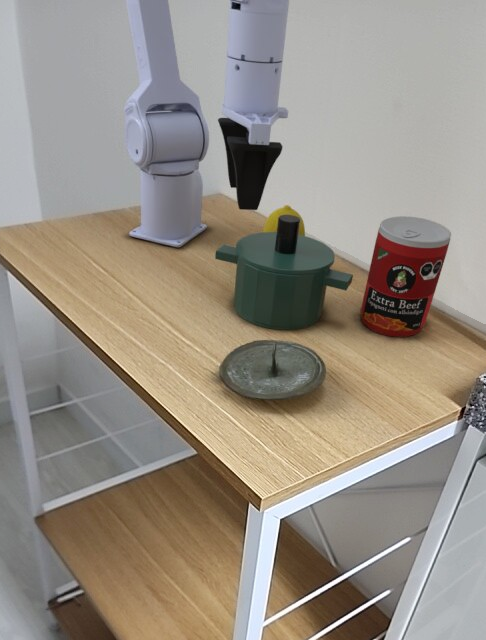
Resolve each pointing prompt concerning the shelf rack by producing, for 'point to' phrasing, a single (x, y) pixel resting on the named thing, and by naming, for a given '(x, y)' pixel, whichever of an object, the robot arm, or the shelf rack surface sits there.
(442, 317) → the shelf rack surface
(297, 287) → the pot
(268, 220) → the lemon
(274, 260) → the pot lid
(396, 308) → the canned food
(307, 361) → the metal candle holder
